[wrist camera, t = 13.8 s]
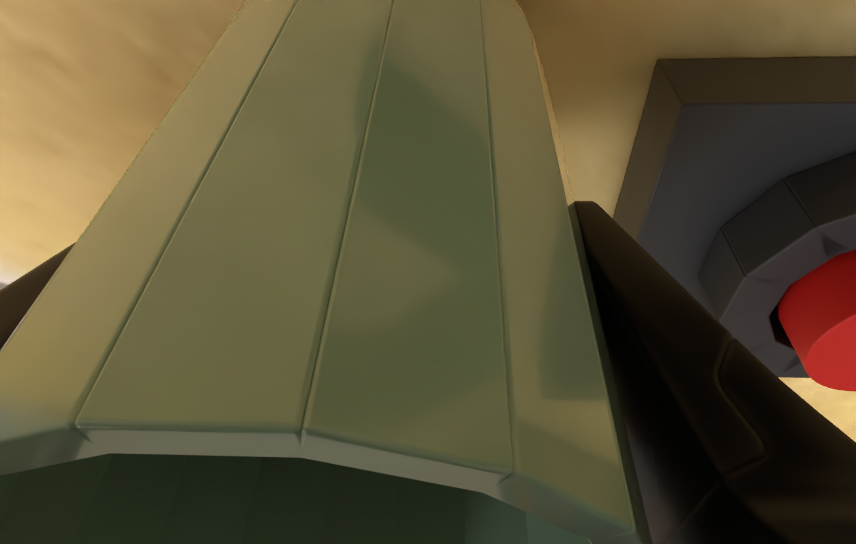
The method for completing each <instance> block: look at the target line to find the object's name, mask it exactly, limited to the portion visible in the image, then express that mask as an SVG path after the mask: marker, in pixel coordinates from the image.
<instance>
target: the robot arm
mask: <svg viewBox="0 0 856 544" xmlns="http://www.w3.org/2000/svg"><path fill="white" fill-rule="evenodd" d="M574 203H575V208H576V212H577V216H578V221H579V225H580V230H581V234H582V238H583V243H584V247H585V251H586V256H587V260H588V265H589V269H590V273H591V278H592V282H593V286H594V291H595V295H596V299H597V304H598V308H599V313H600V317H601V321H602V326H603V330H604V334H605V339H606V343H607V347H608V352H609V356H610V361H611V365H612V369H613V374H614V378H615V382H616V387H617V391H618V395H619V400H620V404H621V409H622V413H623V417H624V422H625V426H626V430H627V435H628V439H629V443H630V448H631V452H632V457H633V461H634V465H635V470H636V474H637V478H638V483H639V487H640V492H641V496H642V500H643V505H644V509H645V513H646V518H647V522H648V526H649V531H650V535H651V540H652V544H856V442H854V441H853V440H852V439H851V438H850V437H848V436H847V435H846V434H845V433H843V432H842V431H841V430H840V429H839V428H837V427H836V426H835V425H834V424H832V423H831V422H830V421H829V420H827V419H826V418H825V417H824V416H823V415H821V414H820V413H819V412H818V411H816V410H815V409H814V408H813V407H812V406H810V405H809V404H808V403H807V402H806V401H805V400H803V399H802V398H801V397H800V396H799V395H797V394H796V393H795V392H794V391H793V390H792V389H790V388H789V387H788V386H787V385H786V384H784V383H783V382H782V381H781V380H780V379H779V378H778V377H777V376H776V375H775V374H773V373H772V372H771V371H770V370H769V369H768V368H767V367H766V366H765V365H764V364H763V363H762V362H760V361H759V360H758V359H757V358H756V357H755V356H754V355H753V354H752V353H751V352H750V351H749V350H748V349H747V348H746V347H745V346H744V345H743V344H742V343H741V342H740V341H738V340H737V339H736V338H732V334H731V333H730V332H729V331H728V330H727V329H726V328H725V327H724V326H723V325H722V324H721V323H720V322H719V321H718V320H717V319H716V318H714V317H713V316H712V315H711V314H710V313H709V312H708V311H707V310H706V309H705V308H704V307H703V306H702V305H701V304H700V303H699V302H698V301H697V300H696V299H695V298H694V297H693V296H692V295H691V294H690V293H689V292H688V291H687V290H686V289H685V288H683V287H682V286H681V285H680V284H679V283H678V282H677V281H676V280H675V279H674V278H673V277H672V276H671V275H670V274H669V273H668V272H667V271H666V270H665V269H664V268H663V267H662V266H661V265H660V264H659V263H658V262H657V261H656V260H655V259H654V258H653V257H651V256H650V255H649V254H648V253H647V252H646V251H645V250H644V249H643V248H642V247H641V246H640V245H639V244H638V243H637V242H636V241H635V240H634V239H633V238H632V237H631V236H630V235H629V234H628V233H627V232H626V231H625V230H624V229H623V228H622V227H621V226H619V225H618V224H617V223H616V222H615V221H614V220H613V219H612V218H611V217H610V216H609V215H608V214H607V213H606V212H605V211H604V210H603V209H602V208H601V207H600V206H599V205H598V204H597V203H595V202H593V201H574ZM75 243H76V242H75ZM75 243H74V244H72V245H71V246H69V247H67V248H66V249H64V250H63V251H61V252H60V253H58V254H57V255H55V256H53V257H52V258H50V259H49V260H47V261H46V262H44V263H42V264H41V265H39V266H38V267H36V268H35V269H33V270H31V271H30V272H28V273H27V274H25V275H24V276H22V277H20V278H19V279H17V280H16V281H14V282H13V283H11V284H9V285H8V286H6V287H5V288H3V289H2V290H0V350H1V349H2V347H3V346H4V344H5V343H6V342H7V340H8V339H9V337H10V336H11V334H12V333H13V332H14V330H15V329H16V327H17V326H18V324H19V323H20V322H21V320H22V319H23V317H24V316H25V315H26V313H27V312H28V310H29V309H30V307H31V306H32V305H33V303H34V302H35V300H36V299H37V297H38V296H39V295H40V293H41V292H42V290H43V289H44V287H45V286H46V285H47V283H48V282H49V280H50V279H51V278H52V276H53V275H54V273H55V272H56V270H57V269H58V268H59V266H60V265H61V263H62V262H63V260H64V259H65V258H66V256H67V255H68V253H69V252H70V250H71V249H72V248H73V246H74V245H75ZM731 338H732V339H731Z"/></svg>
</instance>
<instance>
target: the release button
mask: <svg viewBox="0 0 856 544" xmlns="http://www.w3.org/2000/svg"><path fill="white" fill-rule="evenodd" d="M778 318H779V320H780V323H781V324H782V326H783V328H784V330H785V332H786V334H787V336H788V338H789V340H790V342H791V344H792V346H793V348H794V349H795V351H796V353H797V355H798V357H799V359H800V361H801V363H802V365H803V367H804V369H805V371H806V373H807V374H808V375H809V377H810V378H812V379H813V380H814V381H815V382H817V383H819V384H821V385H823V386H826V387H829V388H832V389H837V390H844V391H856V249H855V250H852V251H849V252H846V253H842V254H839V255H836V256H834V257H833V258H831V259H830V260H828V261H827V262H825V263H824V264H822V265H820V266H819V267H817V268H816V269H814V270H813V271H811V272H810V273H808V274H806V275H805V276H803V277H802V278H800V279H799V280H797V281H795V282H794V283H792V284H791V285H789V287H788V288H787V290H786V291H785V293H784V294H783V296H782V297H781V299H780V301H779V303H778Z"/></svg>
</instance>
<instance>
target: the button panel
mask: <svg viewBox="0 0 856 544" xmlns="http://www.w3.org/2000/svg"><path fill="white" fill-rule="evenodd" d="M613 220H614V221H615V222H616V223H617V224H618V225H619V226H621V227H622V228H623V229H624V230H625V231H626V232H627V233H628V234H629V235H630V236H631V237H632V238H633V239H634V240H635V241H636V242H637V243H638V244H639V245H640V246H641V247H642V248H643V249H644V250H645V251H646V252H647V253H648V254H649V255H650V256H651V257H653V258H654V259H655V260H656V261H657V262H658V263H659V264H660V265H661V266H662V267H663V268H664V269H665V270H666V271H667V272H668V273H669V274H670V275H671V276H672V277H673V278H674V279H675V280H676V281H677V282H678V283H679V284H680V285H681V286H682V287H683V288H685V289H686V290H687V291H688V292H689V293H690V294H691V295H692V296H693V297H694V298H695V299H696V300H697V301H698V302H699V303H700V304H701V305H702V306H703V307H704V308H705V309H706V310H707V311H708V312H709V313H710V314H711V315H712V316H713V317H714V318H716V319H717V320H718V321H719V322H720V323H721V324H722V325H723V326H724V327H725V328H726V329H727V330H728V331H729V332H730V333H731V334H732V338H736V339H737V340H738V341H740V342H741V343H742V344H743V345H744V346H745V347H746V348H747V349H748V350H749V351H750V352H751V353H752V354H753V355H754V356H755V357H756V358H757V359H758V360H759V361H760V362H762V363H763V364H764V365H765V366H766V367H767V368H768V369H769V370H770V371H771V372H772V373H773V374H775V375H776V376H777V377H796V378H810V377H809V375H808V374H807V373H806V371H805V369H804V367H803V365H802V363H801V361H800V359H799V357H798V355H797V353H796V351H795V349H794V348H793V346H792V344H791V342H790V340H789V338H788V336H787V334H786V332H785V330H784V328H783V326H782V324H781V323H780V320H779V318H778V303H779V301H780V299H781V297H782V296H783V294H784V293H785V291H786V290H787V288H788V287H789V285H791V284H792V283H794V282H795V281H797V280H799V279H800V278H802V277H803V276H805V275H806V274H808V273H810V272H811V271H813V270H814V269H816V268H817V267H819V266H820V265H822V264H824V263H825V262H827V261H828V260H830V259H831V258H833V257H834V256H836V255H839V254H842V253H846V252H849V251H852V250H855V249H856V57H816V58H740V59H664V60H658V61H657V64H656V67H655V71H654V75H653V78H652V82H651V85H650V89H649V92H648V96H647V99H646V103H645V107H644V110H643V114H642V117H641V121H640V124H639V128H638V131H637V135H636V139H635V142H634V146H633V149H632V153H631V156H630V160H629V163H628V167H627V171H626V174H625V178H624V181H623V185H622V188H621V192H620V195H619V199H618V203H617V206H616V210H615V213H614V217H613ZM732 338H731V339H732Z"/></svg>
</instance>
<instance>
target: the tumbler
mask: <svg viewBox="0 0 856 544" xmlns="http://www.w3.org/2000/svg"><path fill="white" fill-rule="evenodd" d="M0 544H652V540H651V535H650V531H649V526H648V522H647V518H646V513H645V509H644V505H643V500H642V496H641V492H640V487H639V483H638V478H637V474H636V470H635V465H634V461H633V457H632V452H631V448H630V443H629V439H628V435H627V430H626V426H625V422H624V417H623V413H622V409H621V404H620V400H619V395H618V391H617V387H616V382H615V378H614V374H613V369H612V365H611V361H610V356H609V352H608V347H607V343H606V339H605V334H604V330H603V326H602V321H601V317H600V313H599V308H598V304H597V299H596V295H595V291H594V286H593V282H592V278H591V273H590V269H589V265H588V260H587V256H586V251H585V247H584V243H583V238H582V234H581V230H580V225H579V221H578V216H577V212H576V208H575V203H574V199H573V195H572V190H571V186H570V182H569V177H568V173H567V168H566V164H565V160H564V155H563V151H562V147H561V142H560V138H559V134H558V129H557V125H556V120H555V116H554V112H553V107H552V103H551V99H550V94H549V90H548V86H547V81H546V77H545V74H544V71H543V67H542V64H541V61H540V58H539V55H538V51H537V47H536V43H535V38H534V36H533V33H532V30H531V28H530V25H529V23H528V20H527V18H526V16H525V14H524V12H523V11H522V9H521V7H520V5H519V4H518V2H517V0H246V1H245V3H244V4H243V6H242V7H241V8H240V10H239V11H238V13H237V14H236V16H235V17H234V18H233V20H232V21H231V23H230V24H229V26H228V27H227V28H226V30H225V31H224V33H223V34H222V35H221V37H220V38H219V40H218V41H217V43H216V44H215V45H214V47H213V48H212V50H211V51H210V53H209V54H208V55H207V57H206V58H205V60H204V61H203V63H202V64H201V65H200V67H199V68H198V70H197V71H196V73H195V74H194V75H193V77H192V78H191V80H190V81H189V82H188V84H187V85H186V87H185V88H184V90H183V91H182V92H181V94H180V95H179V97H178V98H177V100H176V101H175V102H174V104H173V105H172V107H171V108H170V110H169V111H168V112H167V114H166V115H165V117H164V118H163V119H162V121H161V122H160V124H159V125H158V127H157V128H156V129H155V131H154V132H153V134H152V135H151V137H150V138H149V139H148V141H147V142H146V144H145V145H144V147H143V148H142V149H141V151H140V152H139V154H138V155H137V156H136V158H135V159H134V161H133V162H132V164H131V165H130V166H129V168H128V169H127V171H126V172H125V174H124V175H123V176H122V178H121V179H120V181H119V182H118V184H117V185H116V186H115V188H114V189H113V191H112V192H111V194H110V195H109V196H108V198H107V199H106V201H105V202H104V203H103V205H102V206H101V208H100V209H99V211H98V212H97V213H96V215H95V216H94V218H93V219H92V221H91V222H90V223H89V225H88V226H87V228H86V229H85V231H84V232H83V233H82V235H81V236H80V238H79V239H78V240H77V242H76V243H75V245H74V246H73V248H72V249H71V250H70V252H69V253H68V255H67V256H66V258H65V259H64V260H63V262H62V263H61V265H60V266H59V268H58V269H57V270H56V272H55V273H54V275H53V276H52V278H51V279H50V280H49V282H48V283H47V285H46V286H45V287H44V289H43V290H42V292H41V293H40V295H39V296H38V297H37V299H36V300H35V302H34V303H33V305H32V306H31V307H30V309H29V310H28V312H27V313H26V315H25V316H24V317H23V319H22V320H21V322H20V323H19V324H18V326H17V327H16V329H15V330H14V332H13V333H12V334H11V336H10V337H9V339H8V340H7V342H6V343H5V344H4V346H3V347H2V349H1V350H0Z"/></svg>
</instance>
